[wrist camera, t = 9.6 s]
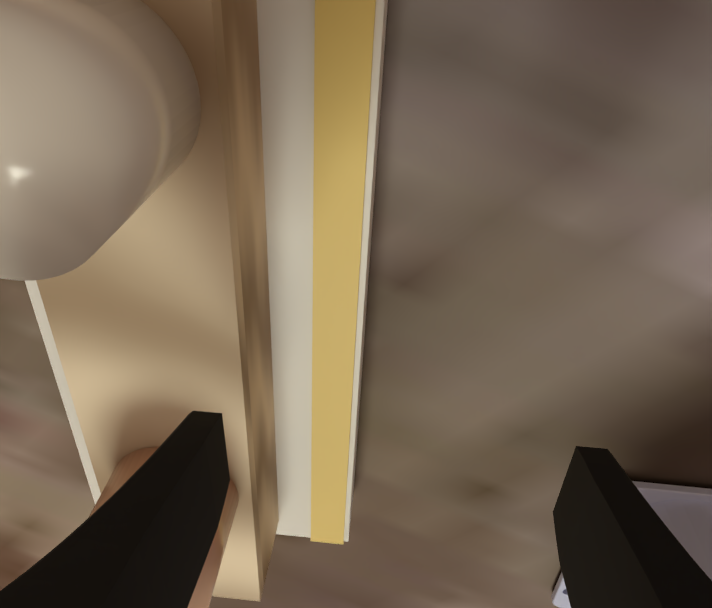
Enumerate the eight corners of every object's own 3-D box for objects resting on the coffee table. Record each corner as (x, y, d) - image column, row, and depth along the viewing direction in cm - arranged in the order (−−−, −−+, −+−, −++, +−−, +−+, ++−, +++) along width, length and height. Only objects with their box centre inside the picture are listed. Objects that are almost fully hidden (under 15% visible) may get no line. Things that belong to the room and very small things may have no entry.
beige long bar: (278, 520, 24) (260, 601, 21) (163, 508, 25) (129, 586, 22) (245, -257, 11) (185, -321, 8) (-6, -268, 11) (-150, -334, 8)
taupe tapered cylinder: (212, 191, 13) (138, 288, 9) (34, 181, 13) (-100, 272, 9) (186, -20, 10) (77, 8, 7) (-29, -26, 11) (-232, -4, 7)
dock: (353, 493, 27) (347, 545, 25) (122, 470, 27) (97, 518, 25) (408, -287, 12) (406, -332, 10) (-81, -307, 13) (-183, -355, 11)
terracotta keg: (240, 535, 19) (206, 663, 16) (122, 521, 19) (64, 646, 16) (236, 455, 17) (195, 584, 14) (103, 439, 17) (30, 565, 14)
